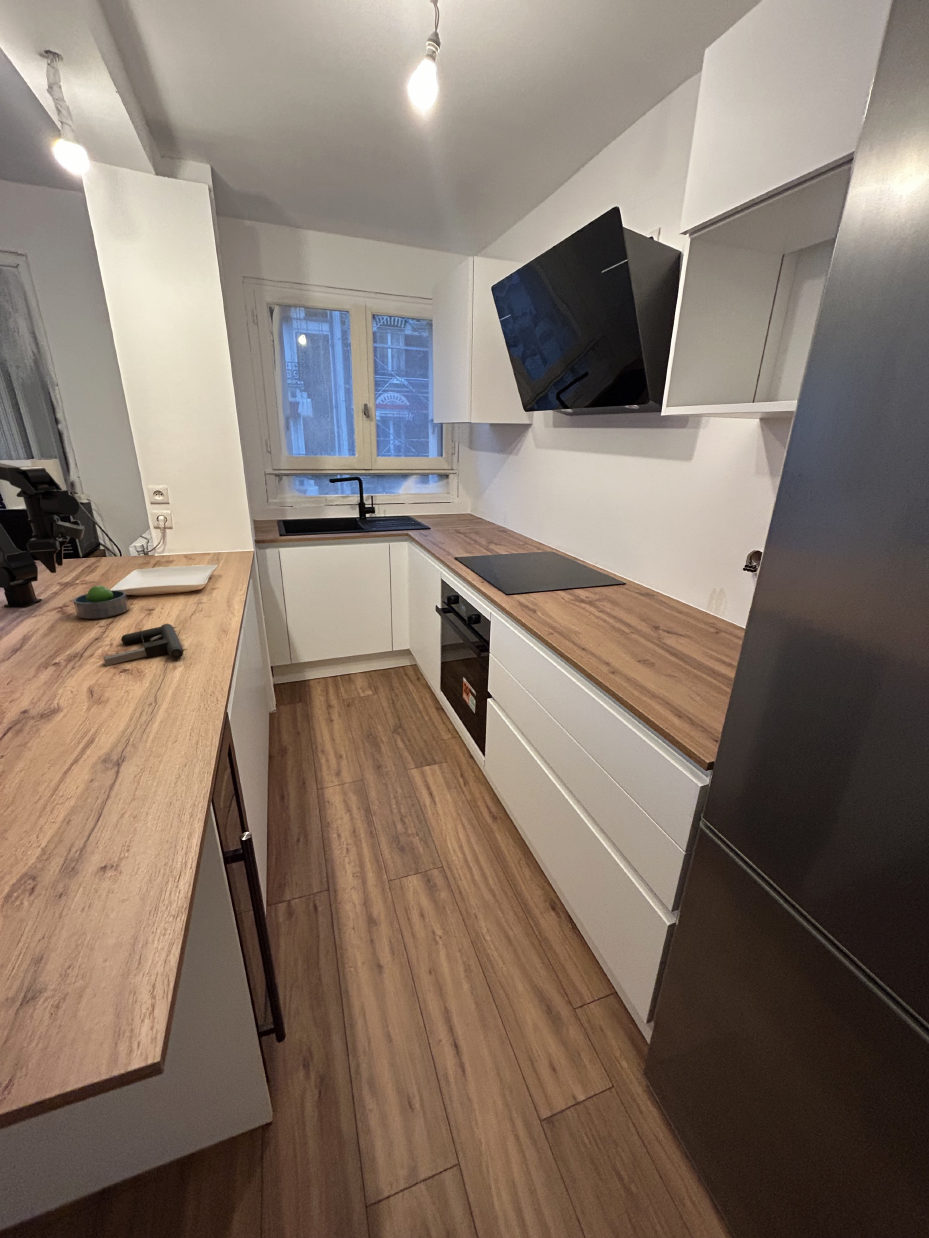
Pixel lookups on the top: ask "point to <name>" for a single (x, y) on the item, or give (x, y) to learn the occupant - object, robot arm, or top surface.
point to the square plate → (165, 580)
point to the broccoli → (99, 594)
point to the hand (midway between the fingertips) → (57, 569)
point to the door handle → (149, 645)
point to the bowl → (101, 606)
